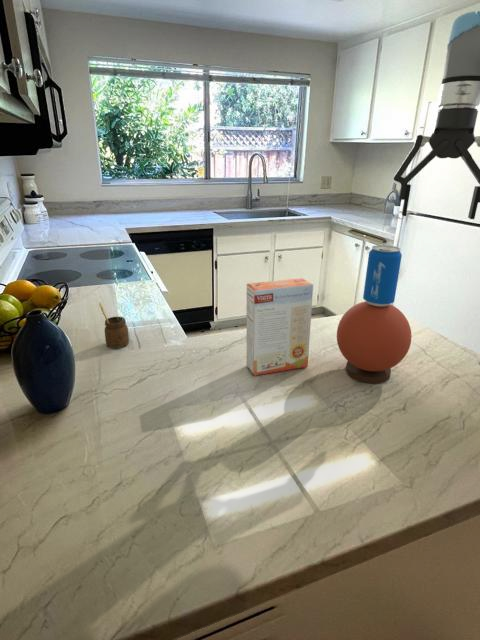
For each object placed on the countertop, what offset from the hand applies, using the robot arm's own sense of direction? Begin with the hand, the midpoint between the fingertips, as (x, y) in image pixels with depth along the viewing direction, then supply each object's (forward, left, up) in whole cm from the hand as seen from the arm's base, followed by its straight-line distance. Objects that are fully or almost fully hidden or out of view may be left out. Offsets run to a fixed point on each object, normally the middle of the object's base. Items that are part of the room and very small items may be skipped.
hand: (436, 216), depth 89 cm
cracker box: (+31, +16, -35) cm, 49 cm away
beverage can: (+10, +12, -17) cm, 23 cm away
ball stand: (+10, +12, -35) cm, 38 cm away
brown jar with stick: (+74, +18, -35) cm, 84 cm away
